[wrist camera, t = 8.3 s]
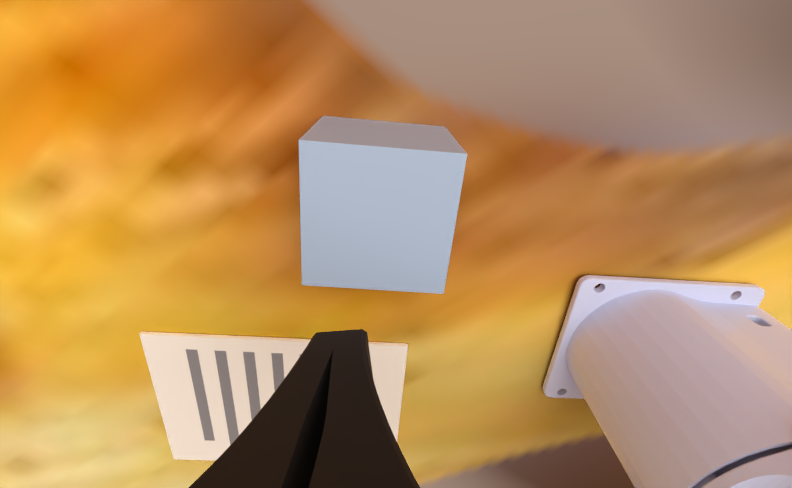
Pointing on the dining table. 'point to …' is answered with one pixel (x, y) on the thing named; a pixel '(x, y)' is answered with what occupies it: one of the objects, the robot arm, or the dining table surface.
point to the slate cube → (378, 204)
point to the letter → (239, 384)
